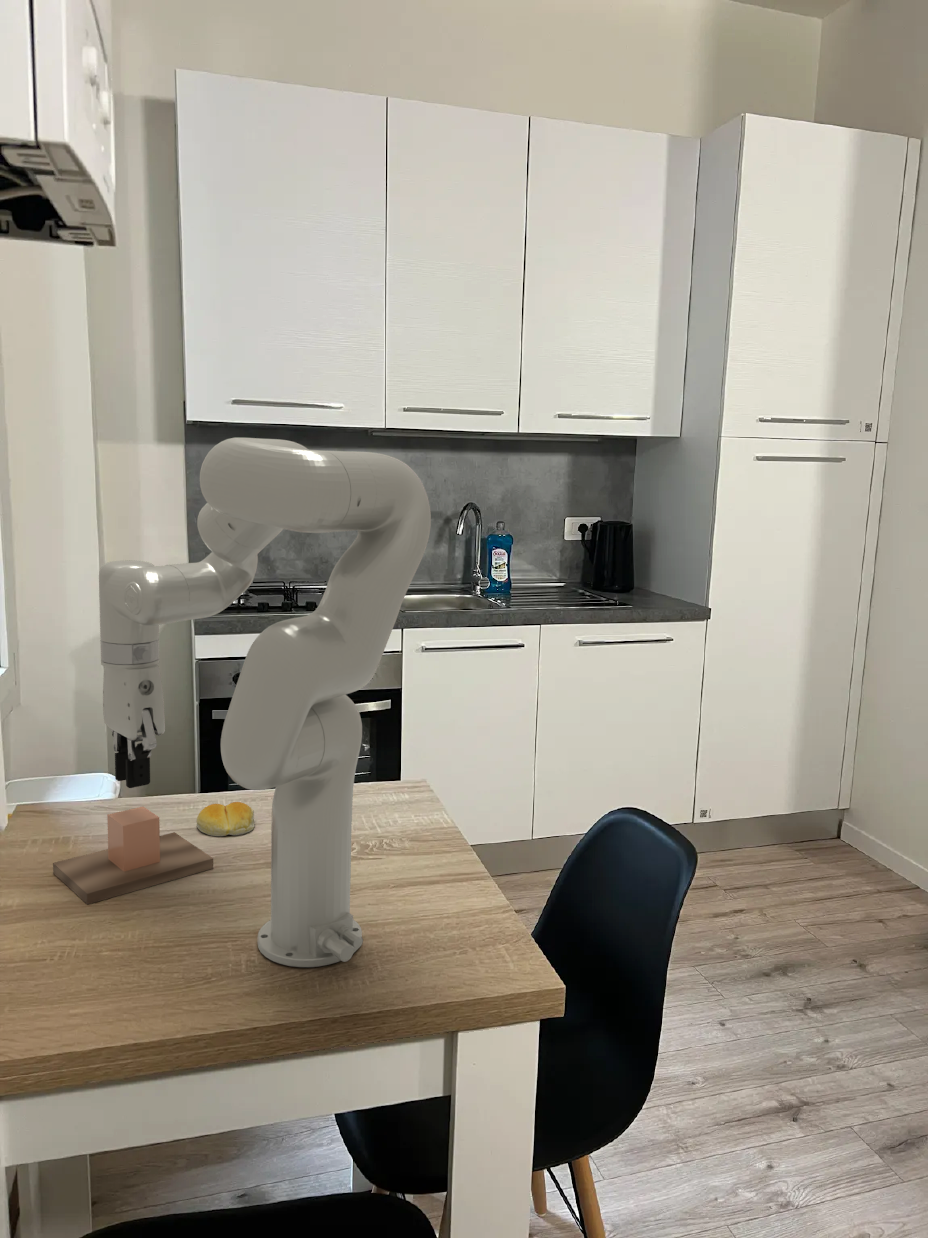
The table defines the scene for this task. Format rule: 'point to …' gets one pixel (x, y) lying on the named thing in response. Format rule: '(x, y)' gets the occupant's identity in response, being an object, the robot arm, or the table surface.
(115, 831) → the salmon orange block
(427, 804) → the table surface
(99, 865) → the flat brown rectangular board
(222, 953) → the table surface
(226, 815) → the bread roll
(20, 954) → the table surface
